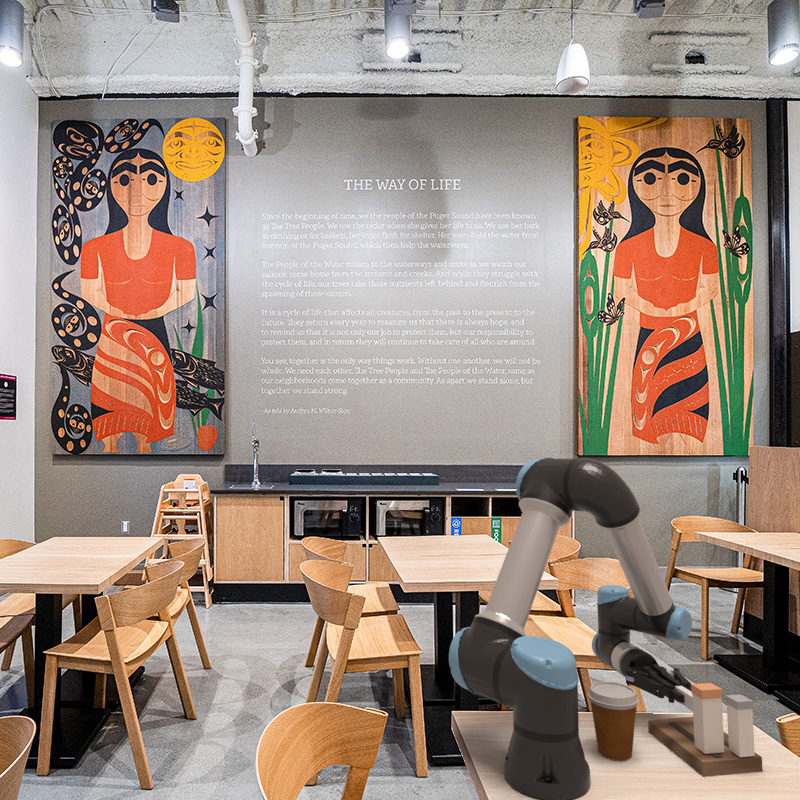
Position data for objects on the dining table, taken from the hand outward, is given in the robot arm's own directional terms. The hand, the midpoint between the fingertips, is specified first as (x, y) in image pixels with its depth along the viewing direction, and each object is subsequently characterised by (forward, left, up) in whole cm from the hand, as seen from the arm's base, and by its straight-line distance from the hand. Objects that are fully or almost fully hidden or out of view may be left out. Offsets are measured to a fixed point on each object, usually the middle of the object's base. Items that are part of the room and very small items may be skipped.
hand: (698, 705), depth 119 cm
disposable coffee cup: (-10, -12, -10) cm, 19 cm away
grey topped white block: (+7, +2, -7) cm, 10 cm away
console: (-1, +3, -10) cm, 10 cm away
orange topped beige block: (+3, -1, -7) cm, 8 cm away
